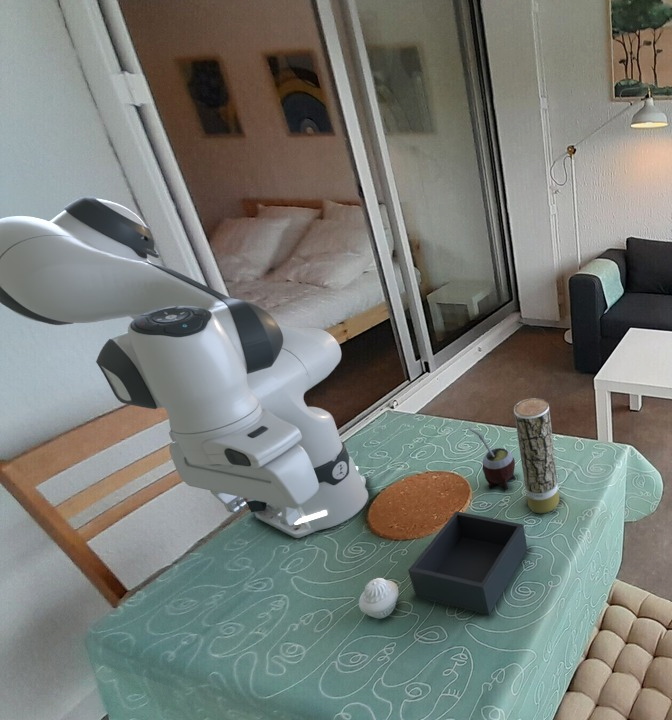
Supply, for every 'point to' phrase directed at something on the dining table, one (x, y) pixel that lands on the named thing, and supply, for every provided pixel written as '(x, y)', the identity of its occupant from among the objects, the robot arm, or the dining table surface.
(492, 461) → the mate gourd
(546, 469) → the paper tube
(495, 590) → the bin
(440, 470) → the dining table surface
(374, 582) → the white rounded piece
